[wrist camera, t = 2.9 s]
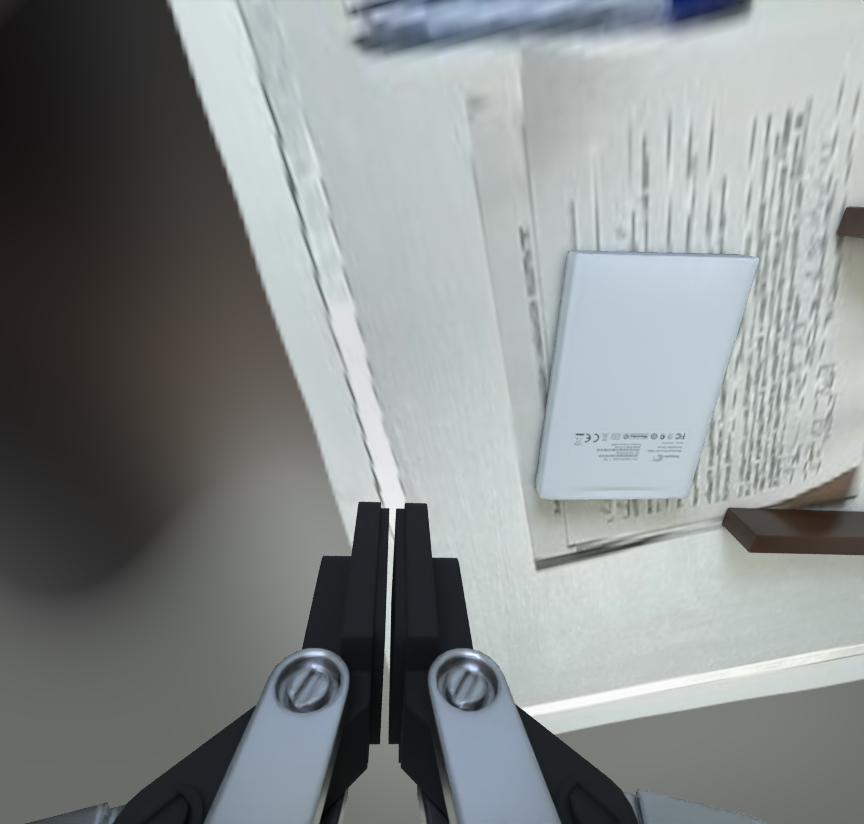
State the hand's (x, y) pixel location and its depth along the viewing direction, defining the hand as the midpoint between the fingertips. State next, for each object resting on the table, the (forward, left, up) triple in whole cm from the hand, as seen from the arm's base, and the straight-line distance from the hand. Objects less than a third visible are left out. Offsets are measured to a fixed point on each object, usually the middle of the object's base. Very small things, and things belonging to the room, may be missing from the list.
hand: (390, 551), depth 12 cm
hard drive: (0, +12, -13) cm, 17 cm away
